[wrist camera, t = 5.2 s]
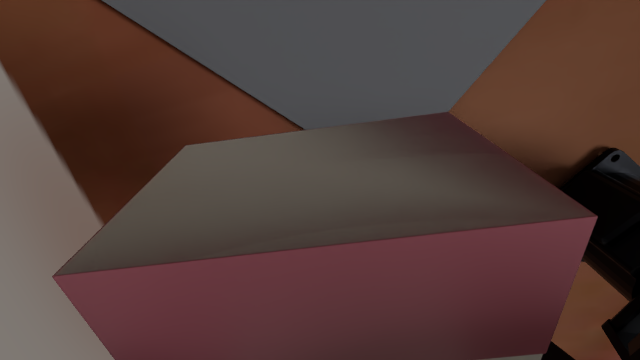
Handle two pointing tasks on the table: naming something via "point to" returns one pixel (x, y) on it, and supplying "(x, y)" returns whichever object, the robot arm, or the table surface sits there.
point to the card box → (335, 250)
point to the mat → (340, 50)
